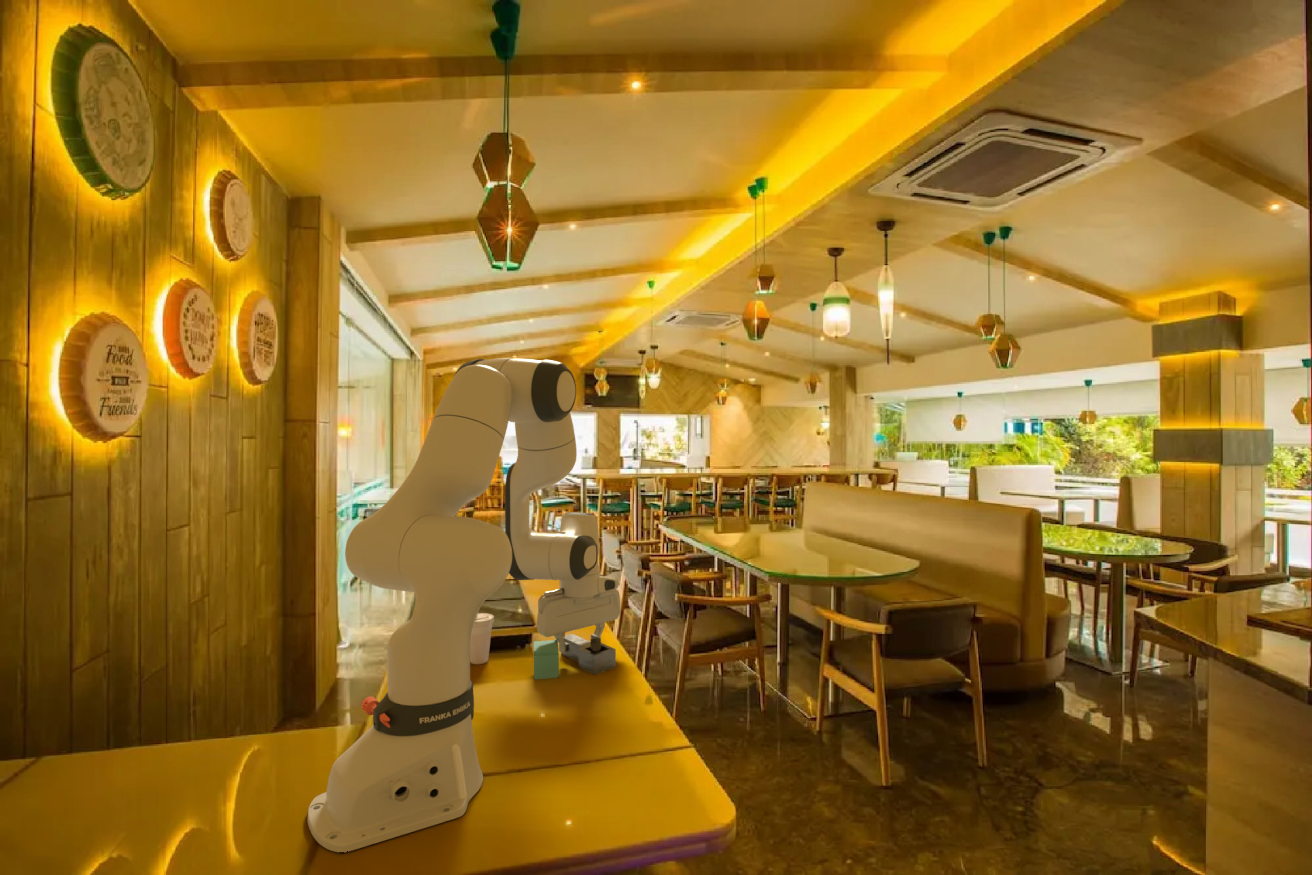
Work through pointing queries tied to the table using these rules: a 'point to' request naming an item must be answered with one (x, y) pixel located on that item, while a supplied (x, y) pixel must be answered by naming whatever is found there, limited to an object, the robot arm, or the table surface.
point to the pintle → (595, 644)
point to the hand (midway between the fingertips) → (580, 647)
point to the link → (590, 655)
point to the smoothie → (481, 638)
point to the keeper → (546, 659)
